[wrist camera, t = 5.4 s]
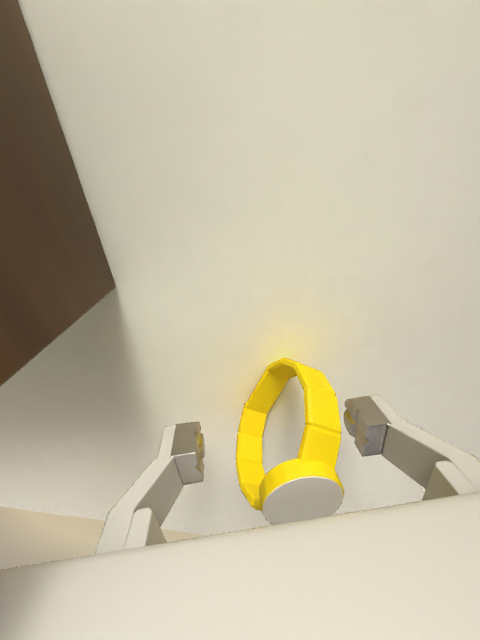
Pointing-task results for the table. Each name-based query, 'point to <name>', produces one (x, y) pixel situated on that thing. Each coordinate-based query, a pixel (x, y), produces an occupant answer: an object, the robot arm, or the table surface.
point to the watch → (313, 458)
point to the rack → (39, 211)
